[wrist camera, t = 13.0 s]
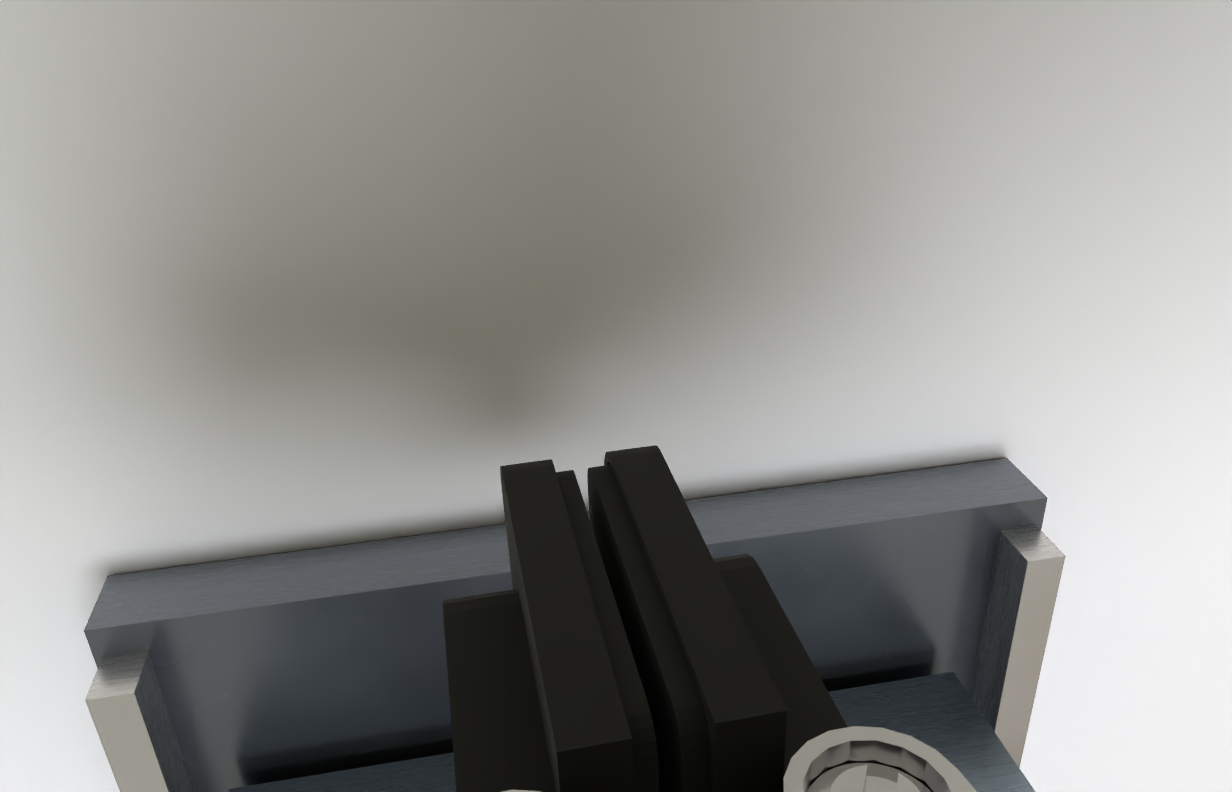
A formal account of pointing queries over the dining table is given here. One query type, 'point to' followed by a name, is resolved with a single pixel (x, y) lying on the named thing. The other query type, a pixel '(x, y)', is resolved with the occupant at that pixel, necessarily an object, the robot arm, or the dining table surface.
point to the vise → (479, 564)
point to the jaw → (904, 706)
